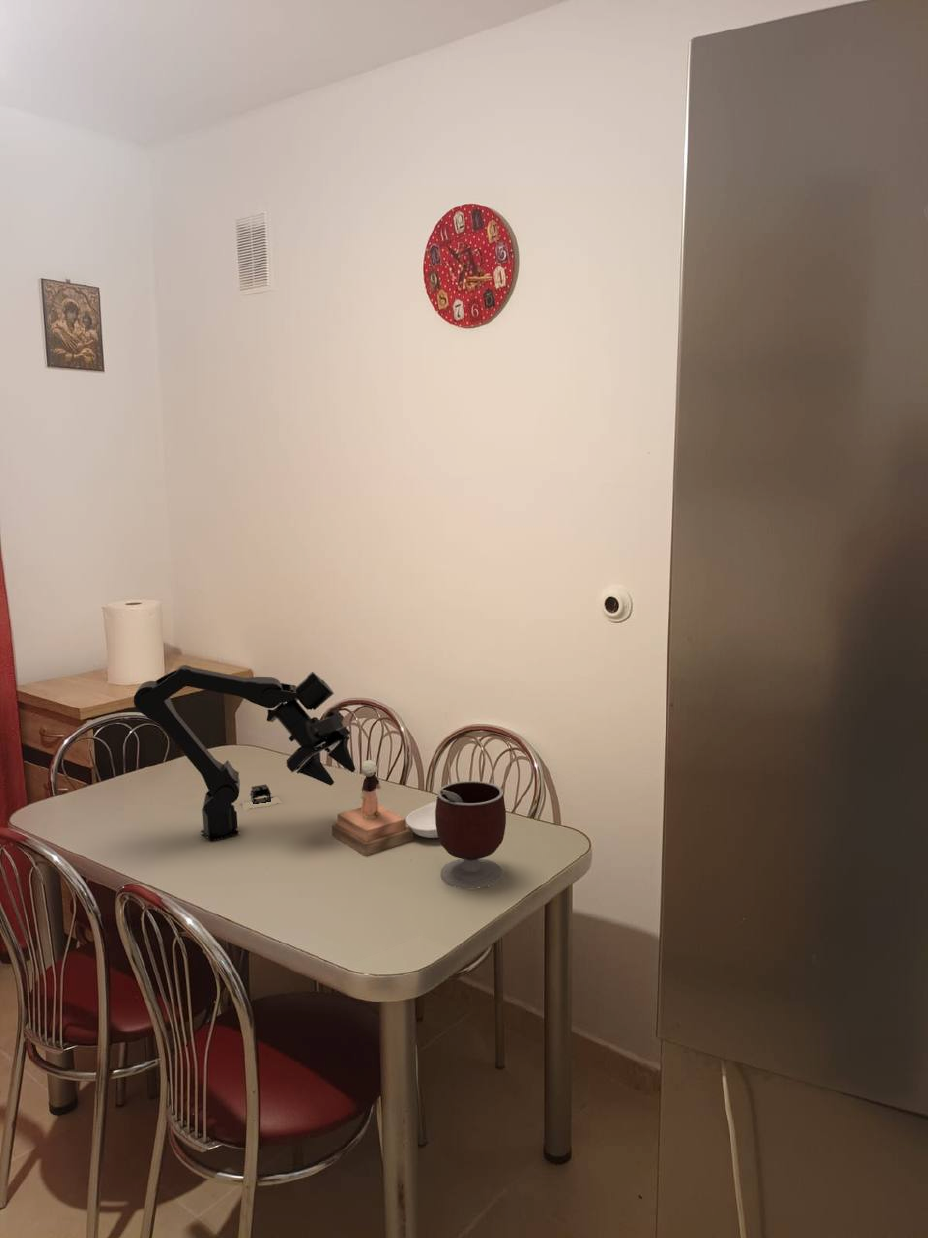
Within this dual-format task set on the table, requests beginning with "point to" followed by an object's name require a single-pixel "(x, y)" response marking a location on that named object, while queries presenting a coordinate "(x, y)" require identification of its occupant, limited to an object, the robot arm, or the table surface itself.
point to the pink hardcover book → (371, 830)
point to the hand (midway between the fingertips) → (343, 777)
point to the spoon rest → (423, 821)
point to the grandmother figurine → (370, 790)
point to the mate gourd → (470, 831)
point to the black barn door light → (260, 794)
